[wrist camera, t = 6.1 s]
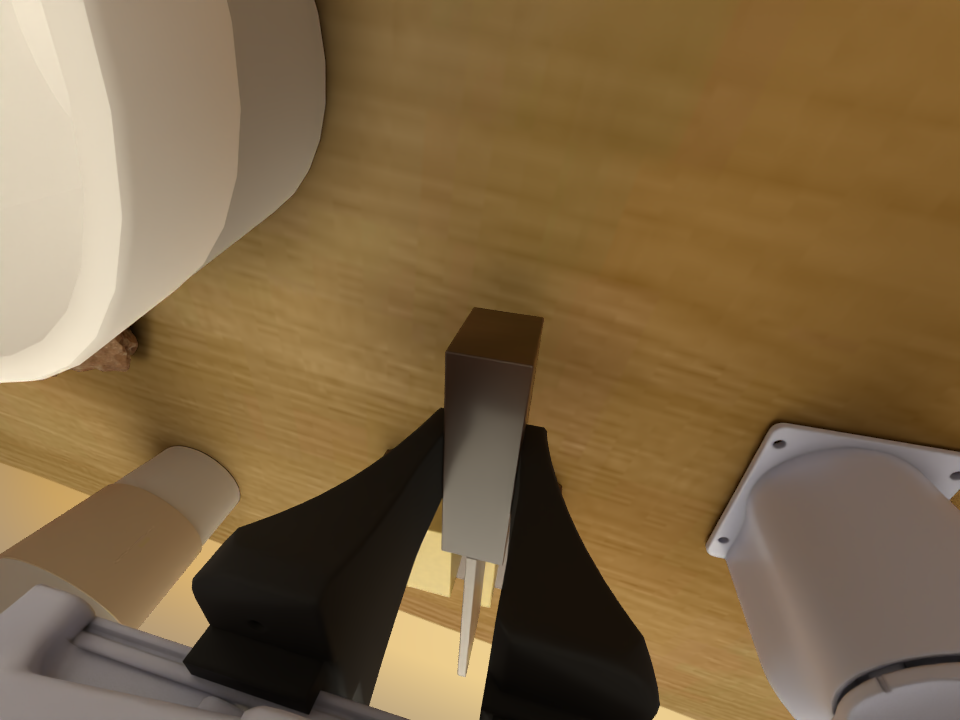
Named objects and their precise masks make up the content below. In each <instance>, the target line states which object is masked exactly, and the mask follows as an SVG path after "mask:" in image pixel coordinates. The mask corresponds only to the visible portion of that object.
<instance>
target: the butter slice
mask: <svg viewBox="0 0 960 720" xmlns="http://www.w3.org/2000/svg"><path fill="white" fill-rule="evenodd" d="M498 566H499V565H497V564H493V563H489V562H486V563H485V571H484V580H483V589H482V597H481V606H484V607H488V608H490V607H491V602H492V597H493V592H494V587H495V581H496V576H497V571H498Z"/></svg>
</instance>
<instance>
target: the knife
mask: <svg viewBox="0 0 960 720" xmlns="http://www.w3.org/2000/svg"><path fill="white" fill-rule="evenodd" d="M543 322H544V318H543V317H537V316H530V315H523V314H517V313H510V312H503V311H496V310H490V309H483V308H476V307H474V308H473V309H472V311H471V313H470V314H469V316H468V317H467V319H466V320H465V322H464V324H463V325H462V327H461V328H460V330H459V331H458V333H457V335H456V336H455V338H454V339H453V341H452V342H451V344H450V346H449V347H448V349H447V350H446V352H445V398H444V445H443V493H442V541H441V550H442V551H446V552H450V553H454V554H457V555H461V556H465V557H466V565H465V578H464V592H463V605H462V619H461V632H460V646H459V659H458V675H459V676H463V677H466V673H467V668H468V664H469V659H470V654H471V650H472V645H473V640H474V636H475V631H476V627H477V622H478V618H479V613H480V606H481V597H482V589H483V580H484V571H485V563H486V562H489V563H493V564H497V565H501V566H502V565H503V563H504V557H505V552H506V547H507V541H508V536H509V530H510V521H511V511H512V505H513V498H514V492H515V486H516V479H517V473H518V466H519V460H520V453H521V447H522V442H523V438H524V433H525V428H526V424H527V423H528V416H529V410H530V404H531V398H532V391H533V385H534V379H535V373H536V366H537V360H538V354H539V347H540V341H541V335H542V329H543Z"/></svg>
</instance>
